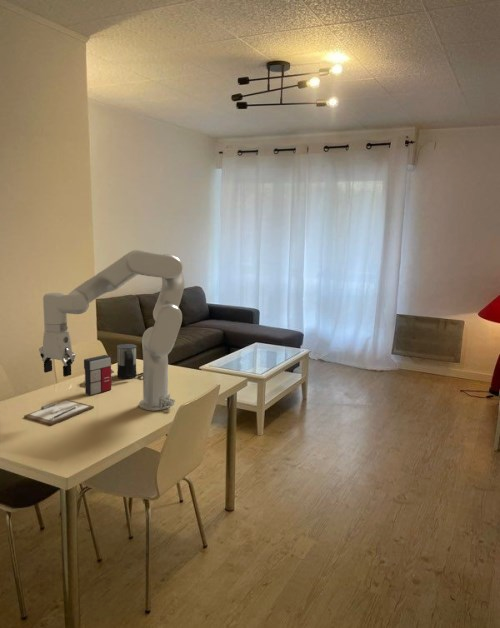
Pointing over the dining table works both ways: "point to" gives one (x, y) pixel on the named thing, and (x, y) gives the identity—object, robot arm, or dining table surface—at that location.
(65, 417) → the clipboard
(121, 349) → the milk frother
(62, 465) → the dining table surface
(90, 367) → the grey and red box
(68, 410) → the picture light
